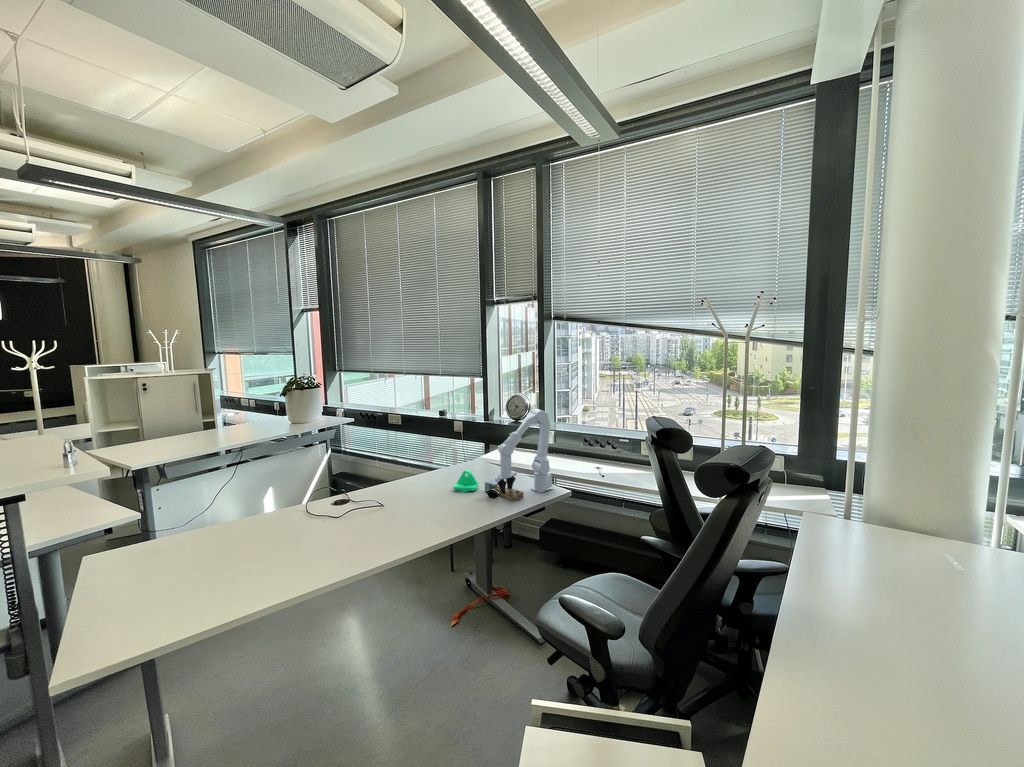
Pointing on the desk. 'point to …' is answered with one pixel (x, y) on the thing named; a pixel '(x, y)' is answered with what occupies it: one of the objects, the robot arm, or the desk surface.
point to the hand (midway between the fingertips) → (506, 492)
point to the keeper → (490, 484)
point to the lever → (510, 493)
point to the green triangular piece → (466, 482)
